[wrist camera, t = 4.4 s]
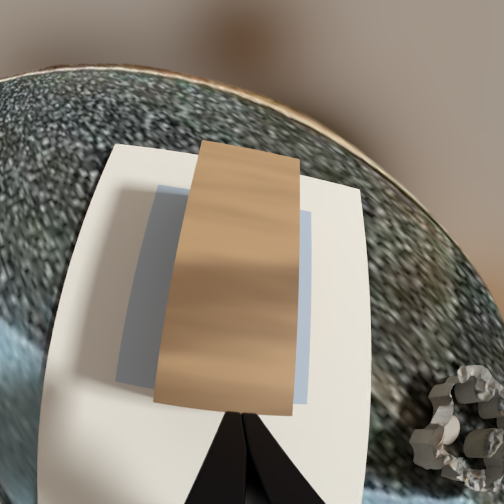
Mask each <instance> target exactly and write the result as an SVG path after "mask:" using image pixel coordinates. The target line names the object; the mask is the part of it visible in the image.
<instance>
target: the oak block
mask: <svg viewBox="0 0 504 504" xmlns="http://www.w3.org/2000/svg"><path fill="white" fill-rule="evenodd" d="M299 251H300V159H295V158H291V157H287V156H282V155H278V154H273V153H268V152H263V151H259V150H254V149H249V148H244V147H238V146H233V145H228V144H222V143H216V142H210V141H204V140H202V144H201V147H200V151H199V155H198V159H197V163H196V167H195V171H194V175H193V180H192V184H191V188H190V192H189V197H188V201H187V205H186V210H185V214H184V219H183V224H182V228H181V233H180V238H179V243H178V248H177V253H176V258H175V263H174V268H173V273H172V279H171V284H170V290H169V295H168V301H167V307H166V313H165V319H164V325H163V332H162V338H161V345H160V352H159V359H158V366H157V374H156V381H155V389H154V398H153V402H155V403H160V404H166V405H172V406H179V407H186V408H193V409H201V410H209V411H219V412H226V411H235V412H240V413H243V412H247V413H256V414H257V415H273V416H292V412H293V398H294V382H295V365H296V345H297V323H298V294H299Z"/></svg>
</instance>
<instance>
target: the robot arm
mask: <svg viewBox="0 0 504 504" xmlns="http://www.w3.org/2000/svg"><path fill="white" fill-rule="evenodd" d="M184 504H326V503H325V502H324V501H323V500H322V498H321V497H320V496H319V495H318V494H317V492H316V491H315V490H314V489H313V487H312V486H311V485H310V484H309V482H308V481H307V480H306V479H305V477H304V476H303V475H302V474H301V472H300V471H299V470H298V468H297V467H296V466H295V465H294V463H293V462H292V461H291V459H290V458H289V457H288V455H287V454H286V453H285V451H284V450H283V449H282V447H281V446H280V445H279V443H278V442H277V441H276V439H275V438H274V437H273V435H272V434H271V432H270V431H269V430H268V428H267V427H266V425H265V424H264V423H263V421H262V420H261V418H260V417H259V416H258V415H257V414H256V413H247V412H243V413H240V412H235V411H226V412H225V413H224V416H223V418H222V420H221V423H220V425H219V427H218V429H217V432H216V434H215V436H214V439H213V441H212V443H211V445H210V448H209V450H208V452H207V454H206V457H205V459H204V461H203V463H202V466H201V468H200V470H199V472H198V474H197V477H196V479H195V481H194V483H193V485H192V488H191V490H190V492H189V494H188V496H187V498H186V500H185V503H184Z"/></svg>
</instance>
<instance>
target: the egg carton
mask: <svg viewBox="0 0 504 504" xmlns="http://www.w3.org/2000/svg"><path fill="white" fill-rule="evenodd" d="M455 383H456V384H455ZM454 384H455V396H456V399H457V401H458V402H459V403H461V404H467V403H475V402H478V413H479V415H480V417H481V418H483V419H488V418H497V427H498V429H496V428H489V429H477V430H473V431H471V432H470V433H469V434H468V435H467V437H466V439H465V442H464V446H463V449H464V453H465V456H466V457H472V458H484V464H485V466H486V470H483V469H480V470H471V469H469V468H466V466H465V461H464V460H463V457H459V458H456V457H454V456H452V455H451V454H449V453H447V452H446V451H445V450H444V448H443V444H445V445H449V444H451V443H453V442H454V441H455V440H456V438H457V436H458V434H459V430H460V424H459V421H458V419H457V418H456V416H453V415H452V414H453V404H454V403H453V400H452V395H451V394H450V390H451V389H452V386H453V385H454ZM428 398H429V400H430V401H431V403H432V405H433V416H432V420H431V422H430V424H429V425H428V426H427V427H426V428H424V429H415V430H414V432H413V434H412V436H411V438H410V440H409V443H410V444H411V446H412V447H413V450H414V459H413V462H414V463H415V464H416V465H418V466H421V467H423V468H425V469H427V470H428V469H442V472H441V475H440V476H443V477H446V478H449V479H452V480H456V481H464V486H465V487H469V488H471V489H473V490H477V491H486V492H497V491H499V490H500V489H501V488H502V484H501V483H500V482H501V480H502V478H503V476H504V388H503V386H502V385H501V384H500V383H498V382H497V381H495V379H494V378H493V377H492V375H491V374H490V372H489V371H488V369H487V368H485V367H484V366H481V365H473V366H461V367H460V368H459V370H458V376H453V377H448V378H447V380H446V382H445V383H444V384H439V385H435V386H433V388H432V390H431V392H430V394H429V397H428Z"/></svg>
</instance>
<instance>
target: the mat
mask: <svg viewBox="0 0 504 504" xmlns="http://www.w3.org/2000/svg"><path fill="white" fill-rule="evenodd" d="M197 159H198V155H195V154H189V153H182V152H175V151H169V150H161V149H154V148H147V147H139V146H130V145H122V144H115V146H114V148H113V150H112V152H111V155H110V157H109V159H108V161H107V164H106V166H105V168H104V171H103V173H102V175H101V178H100V180H99V183H98V185H97V188H96V190H95V193H94V195H93V198H92V200H91V203H90V206H89V208H88V211H87V214H86V216H85V219H84V222H83V225H82V228H81V231H80V233H79V236H78V239H77V243H76V246H75V249H74V252H73V255H72V258H71V262H70V265H69V268H68V272H67V275H66V279H65V283H64V286H63V290H62V294H61V298H60V302H59V306H58V310H57V314H56V319H55V323H54V328H53V333H52V338H51V343H50V348H49V353H48V359H47V365H46V371H45V378H44V385H43V393H42V401H41V411H40V422H39V435H38V457H37V493H38V504H184V503H185V500H186V498H187V496H188V494H189V492H190V490H191V488H192V485H193V483H194V481H195V479H196V477H197V474H198V472H199V470H200V468H201V466H202V463H203V461H204V459H205V457H206V454H207V452H208V450H209V448H210V445H211V443H212V441H213V439H214V436H215V434H216V432H217V429H218V427H219V425H220V423H221V420H222V418H223V416H224V413H225V412H219V411H209V410H201V409H193V408H186V407H179V406H172V405H166V404H160V403H155V402H153V398H154V389H155V381H156V374H157V366H158V359H159V352H160V345H161V338H162V332H163V325H164V319H165V313H166V307H167V301H168V295H169V290H170V284H171V279H172V273H173V268H174V263H175V258H176V253H177V248H178V243H179V238H180V233H181V228H182V224H183V219H184V214H185V210H186V205H187V201H188V197H189V192H190V188H191V184H192V180H193V175H194V171H195V167H196V163H197ZM370 394H371V319H370V295H369V278H368V264H367V251H366V240H365V230H364V221H363V212H362V204H361V196H360V190H359V189H355V188H352V187H348V186H344V185H340V184H336V183H332V182H328V181H324V180H320V179H316V178H311V177H307V176H303V175H300V251H299V294H298V323H297V345H296V365H295V382H294V398H293V412H292V416H273V415H258V416H259V417H260V418H261V420H262V421H263V423H264V424H265V425H266V427H267V428H268V430H269V431H270V432H271V434H272V435H273V437H274V438H275V439H276V441H277V442H278V443H279V445H280V446H281V447H282V449H283V450H284V451H285V453H286V454H287V455H288V457H289V458H290V459H291V461H292V462H293V463H294V465H295V466H296V467H297V468H298V470H299V471H300V472H301V474H302V475H303V476H304V477H305V479H306V480H307V481H308V482H309V484H310V485H311V486H312V487H313V489H314V490H315V491H316V492H317V494H318V495H319V496H320V497H321V498H322V500H323V501H324V502H325V503H326V504H361V501H362V494H363V486H364V478H365V469H366V459H367V447H368V434H369V418H370Z"/></svg>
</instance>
